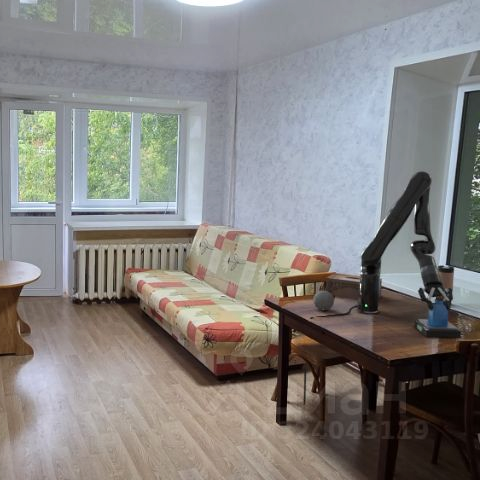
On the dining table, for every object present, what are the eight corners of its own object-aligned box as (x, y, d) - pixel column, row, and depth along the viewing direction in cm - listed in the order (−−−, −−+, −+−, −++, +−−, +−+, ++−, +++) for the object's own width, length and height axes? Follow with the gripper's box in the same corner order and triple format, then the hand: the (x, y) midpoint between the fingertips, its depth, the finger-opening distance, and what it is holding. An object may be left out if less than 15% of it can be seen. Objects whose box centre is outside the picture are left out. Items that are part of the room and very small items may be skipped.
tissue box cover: (325, 294, 295) (326, 277, 294) (335, 289, 307) (335, 272, 305) (373, 302, 280) (373, 283, 278) (380, 296, 291) (381, 278, 289)
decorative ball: (329, 314, 260) (330, 294, 259) (310, 310, 266) (310, 291, 265) (336, 309, 268) (337, 290, 266) (317, 306, 274) (317, 287, 272)
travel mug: (443, 306, 269) (445, 268, 266) (431, 302, 277) (434, 265, 273) (455, 305, 271) (457, 267, 268) (443, 301, 279) (446, 264, 275)
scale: (425, 337, 226) (425, 330, 225) (413, 326, 240) (413, 320, 239) (460, 337, 224) (460, 331, 224) (446, 327, 238) (446, 320, 238)
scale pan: (428, 329, 226) (428, 327, 226) (417, 320, 238) (417, 319, 238) (457, 329, 225) (457, 328, 225) (445, 321, 237) (445, 319, 237)
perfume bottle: (447, 325, 228) (449, 299, 226) (432, 325, 229) (434, 298, 227) (442, 321, 234) (444, 295, 232) (427, 320, 235) (429, 295, 233)
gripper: (417, 272, 236) (425, 305, 226) (450, 272, 235) (460, 305, 225) (412, 281, 242) (420, 313, 233) (444, 281, 241) (454, 313, 231)
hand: (440, 309), depth 229 cm, fingers closed on perfume bottle, 6 cm apart
